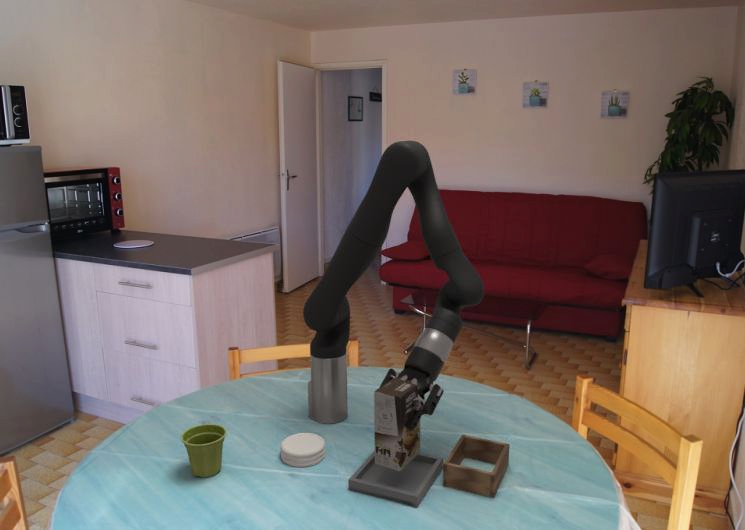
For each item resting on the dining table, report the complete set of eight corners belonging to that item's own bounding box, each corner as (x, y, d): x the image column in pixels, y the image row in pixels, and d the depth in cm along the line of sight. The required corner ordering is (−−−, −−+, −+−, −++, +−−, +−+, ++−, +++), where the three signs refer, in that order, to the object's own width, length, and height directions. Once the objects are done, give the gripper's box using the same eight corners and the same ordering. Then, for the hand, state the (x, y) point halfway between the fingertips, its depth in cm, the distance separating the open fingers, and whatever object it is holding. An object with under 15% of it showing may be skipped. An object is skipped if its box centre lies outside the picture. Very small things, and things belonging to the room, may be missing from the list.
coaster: (333, 451, 140) (333, 437, 139) (309, 472, 132) (308, 457, 131) (297, 441, 145) (297, 428, 144) (272, 461, 136) (271, 447, 135)
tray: (348, 489, 125) (348, 479, 124) (380, 453, 139) (380, 444, 138) (417, 507, 119) (417, 496, 118) (443, 467, 133) (443, 457, 132)
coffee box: (401, 472, 122) (400, 397, 119) (373, 464, 126) (372, 390, 122) (421, 452, 130) (421, 381, 127) (395, 444, 133) (394, 375, 130)
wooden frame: (442, 485, 126) (443, 463, 125) (461, 454, 138) (462, 434, 137) (493, 497, 122) (494, 475, 121) (508, 464, 134) (509, 444, 133)
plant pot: (188, 487, 126) (185, 448, 124) (180, 465, 134) (177, 429, 132) (233, 475, 130) (231, 438, 128) (222, 455, 138) (220, 420, 137)
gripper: (396, 338, 133) (359, 404, 128) (448, 353, 123) (411, 426, 118) (412, 354, 138) (377, 419, 132) (463, 370, 128) (428, 441, 122)
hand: (393, 422), depth 125 cm, fingers closed on coffee box, 7 cm apart
